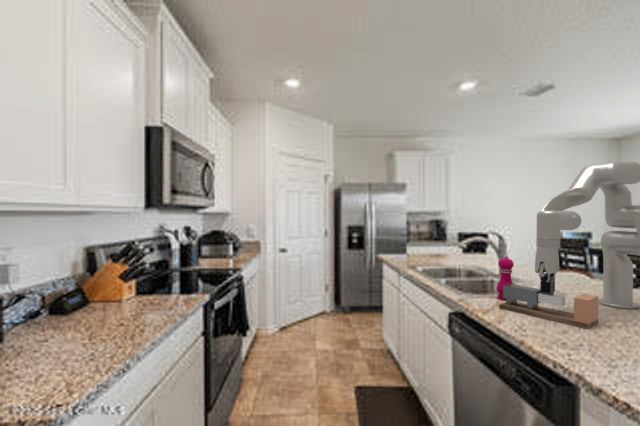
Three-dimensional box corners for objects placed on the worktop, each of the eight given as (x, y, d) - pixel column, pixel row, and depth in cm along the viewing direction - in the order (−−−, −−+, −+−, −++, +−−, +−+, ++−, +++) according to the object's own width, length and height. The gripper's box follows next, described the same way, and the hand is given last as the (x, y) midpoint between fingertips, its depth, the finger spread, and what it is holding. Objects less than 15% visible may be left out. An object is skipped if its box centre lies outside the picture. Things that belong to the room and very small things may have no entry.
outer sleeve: (508, 301, 143) (509, 283, 143) (541, 308, 133) (542, 289, 133) (502, 303, 140) (503, 285, 140) (536, 310, 130) (536, 291, 130)
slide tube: (511, 294, 141) (512, 270, 141) (565, 305, 126) (565, 277, 126) (508, 295, 139) (508, 271, 139) (561, 306, 124) (561, 278, 124)
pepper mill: (499, 300, 151) (499, 255, 151) (494, 296, 158) (495, 253, 158) (517, 301, 149) (517, 256, 149) (511, 297, 156) (512, 254, 156)
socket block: (584, 316, 124) (584, 293, 124) (598, 319, 121) (598, 296, 120) (573, 321, 118) (574, 297, 118) (587, 324, 115) (588, 300, 115)
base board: (512, 304, 145) (512, 300, 145) (598, 322, 121) (598, 318, 121) (499, 308, 139) (499, 304, 139) (587, 328, 114) (587, 324, 114)
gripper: (546, 241, 137) (545, 287, 137) (527, 243, 127) (527, 292, 127) (568, 243, 131) (567, 291, 131) (550, 245, 121) (549, 296, 121)
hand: (547, 291), depth 129 cm, fingers closed on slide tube, 3 cm apart
